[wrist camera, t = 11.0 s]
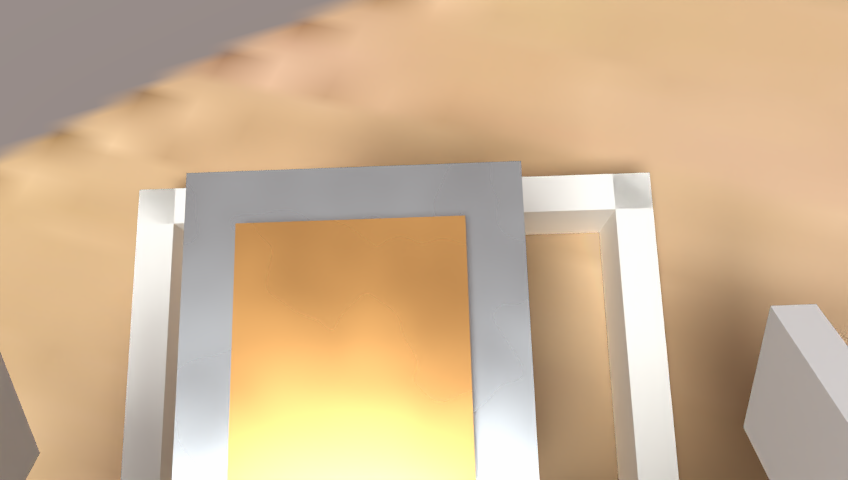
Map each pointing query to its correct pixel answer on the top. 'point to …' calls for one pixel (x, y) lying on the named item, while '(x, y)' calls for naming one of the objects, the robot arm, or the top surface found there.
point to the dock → (543, 214)
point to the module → (355, 326)
